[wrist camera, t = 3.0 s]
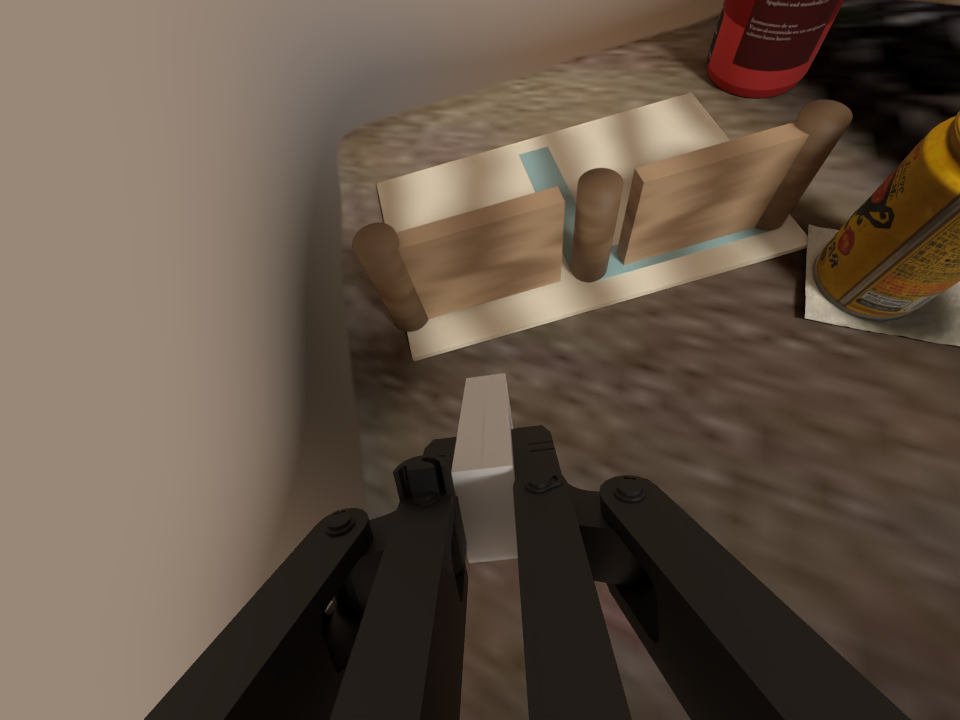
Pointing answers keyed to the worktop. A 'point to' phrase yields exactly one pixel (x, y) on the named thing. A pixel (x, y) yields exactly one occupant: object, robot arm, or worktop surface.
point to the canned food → (767, 44)
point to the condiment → (896, 251)
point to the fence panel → (464, 257)
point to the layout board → (573, 217)
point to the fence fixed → (703, 191)
